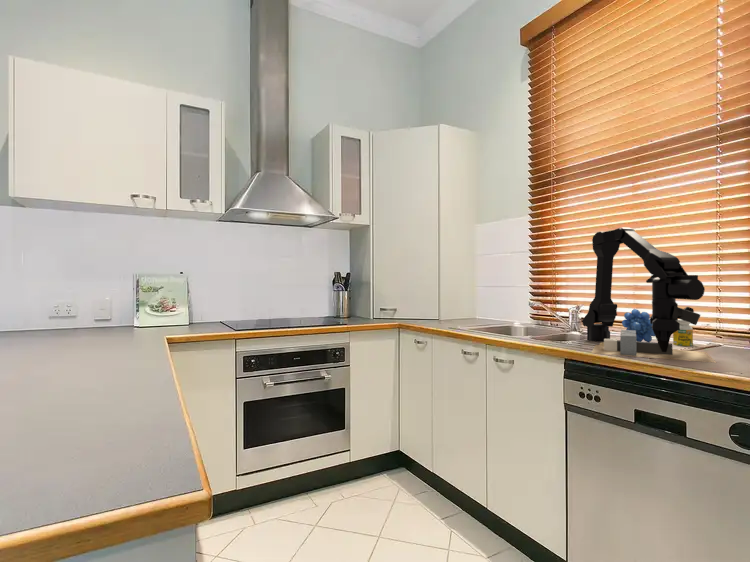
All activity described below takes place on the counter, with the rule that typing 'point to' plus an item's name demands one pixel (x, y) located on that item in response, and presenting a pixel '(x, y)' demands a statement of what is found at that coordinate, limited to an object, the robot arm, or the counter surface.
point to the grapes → (639, 325)
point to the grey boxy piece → (628, 342)
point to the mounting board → (663, 355)
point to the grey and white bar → (637, 347)
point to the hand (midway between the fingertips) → (663, 351)
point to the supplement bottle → (683, 334)
